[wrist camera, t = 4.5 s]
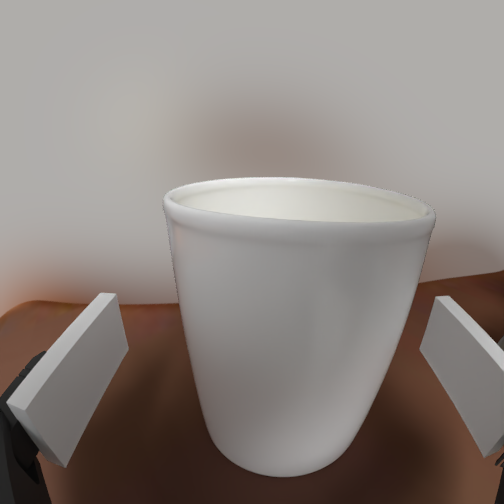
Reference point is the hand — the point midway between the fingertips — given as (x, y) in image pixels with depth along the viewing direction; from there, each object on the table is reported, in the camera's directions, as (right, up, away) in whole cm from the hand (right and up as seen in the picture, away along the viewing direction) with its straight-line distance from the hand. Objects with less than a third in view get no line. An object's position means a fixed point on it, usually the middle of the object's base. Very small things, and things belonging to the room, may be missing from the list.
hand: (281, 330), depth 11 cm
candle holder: (+1, -6, +4) cm, 7 cm away
